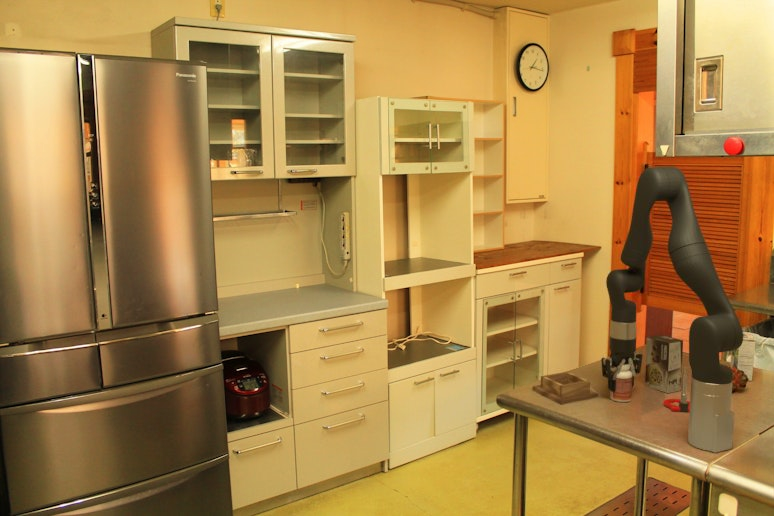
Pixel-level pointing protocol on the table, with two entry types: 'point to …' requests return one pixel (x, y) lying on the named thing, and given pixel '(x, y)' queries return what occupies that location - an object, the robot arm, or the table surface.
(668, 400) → the tow hook
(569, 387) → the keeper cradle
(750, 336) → the syrup box
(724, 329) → the robot arm
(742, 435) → the table surface
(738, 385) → the dragon fruit
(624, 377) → the pill bottle
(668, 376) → the coffee box
